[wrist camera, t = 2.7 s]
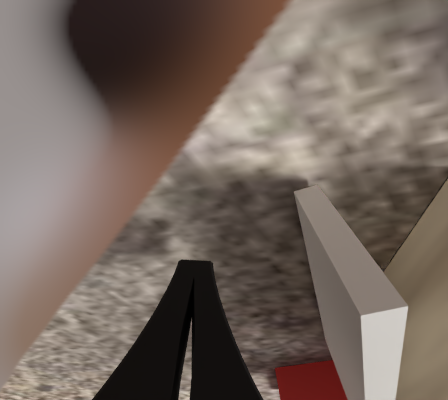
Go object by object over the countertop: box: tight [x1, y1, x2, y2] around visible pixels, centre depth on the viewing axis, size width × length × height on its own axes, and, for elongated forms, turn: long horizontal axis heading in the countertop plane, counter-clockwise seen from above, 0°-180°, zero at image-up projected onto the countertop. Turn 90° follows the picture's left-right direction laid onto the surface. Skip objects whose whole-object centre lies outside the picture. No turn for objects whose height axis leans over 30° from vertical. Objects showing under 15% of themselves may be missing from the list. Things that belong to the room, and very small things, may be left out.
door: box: [294, 185, 408, 400], centre depth 11 cm, size 1×13×6 cm, turn 19°
